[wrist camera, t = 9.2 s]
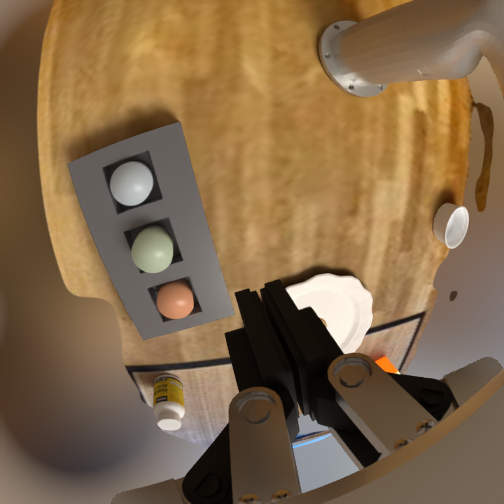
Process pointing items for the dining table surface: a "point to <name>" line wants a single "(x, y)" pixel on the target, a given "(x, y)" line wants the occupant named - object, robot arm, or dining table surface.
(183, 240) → the button panel
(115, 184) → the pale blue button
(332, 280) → the plate
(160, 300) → the terracotta button
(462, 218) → the ramekin
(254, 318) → the robot arm
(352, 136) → the dining table surface
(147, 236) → the sage button
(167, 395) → the supplement bottle
